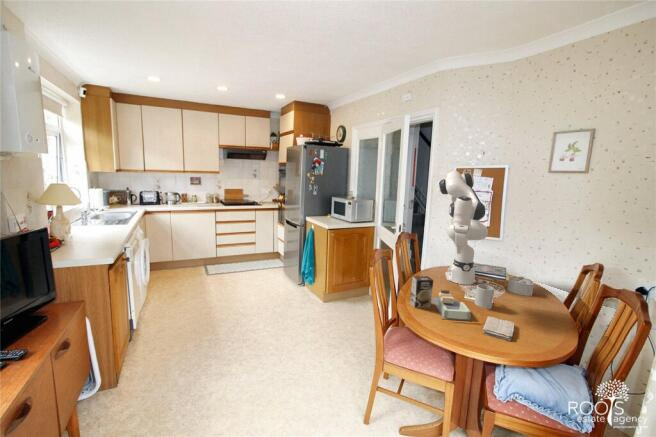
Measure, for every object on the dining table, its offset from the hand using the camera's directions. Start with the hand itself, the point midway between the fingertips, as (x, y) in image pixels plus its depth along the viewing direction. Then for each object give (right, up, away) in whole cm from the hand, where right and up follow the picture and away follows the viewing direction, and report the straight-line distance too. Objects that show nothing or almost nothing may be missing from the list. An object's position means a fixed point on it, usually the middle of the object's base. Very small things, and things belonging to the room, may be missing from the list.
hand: (458, 251), depth 170 cm
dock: (-7, -30, -5) cm, 31 cm away
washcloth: (+8, -35, -24) cm, 43 cm away
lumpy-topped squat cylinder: (+47, -27, +23) cm, 59 cm away
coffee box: (-22, -29, -3) cm, 37 cm away
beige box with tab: (-7, -28, +1) cm, 29 cm away
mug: (+14, -30, +2) cm, 33 cm away
